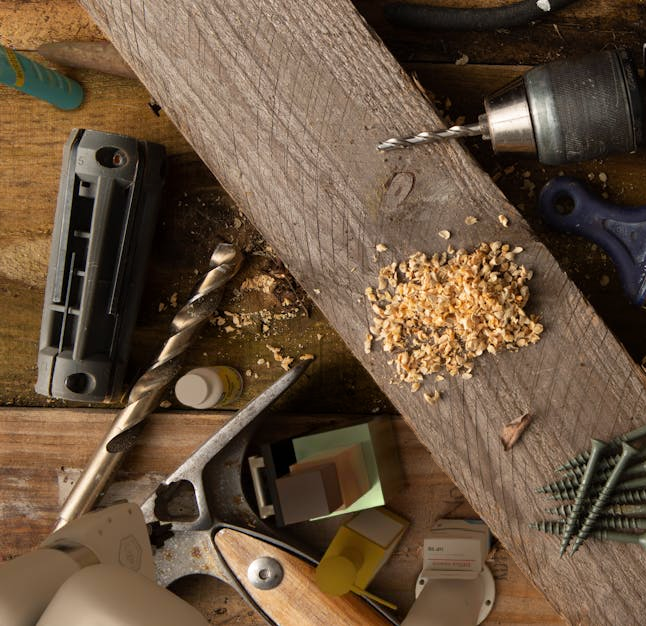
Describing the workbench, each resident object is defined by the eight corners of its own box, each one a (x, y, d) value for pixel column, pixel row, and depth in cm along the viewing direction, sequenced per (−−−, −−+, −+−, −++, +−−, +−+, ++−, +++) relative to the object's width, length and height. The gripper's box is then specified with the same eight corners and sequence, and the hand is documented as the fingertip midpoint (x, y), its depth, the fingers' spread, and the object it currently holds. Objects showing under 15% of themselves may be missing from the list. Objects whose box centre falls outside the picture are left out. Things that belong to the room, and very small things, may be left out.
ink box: (491, 519, 127) (479, 545, 112) (490, 550, 127) (478, 580, 112) (437, 518, 127) (419, 544, 112) (437, 549, 127) (418, 579, 112)
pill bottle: (240, 407, 126) (207, 415, 115) (201, 399, 126) (165, 407, 115) (248, 369, 126) (216, 373, 115) (209, 361, 126) (174, 365, 115)
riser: (371, 489, 114) (346, 509, 102) (330, 499, 114) (300, 519, 102) (360, 442, 114) (335, 456, 102) (319, 451, 114) (289, 466, 102)
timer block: (343, 504, 102) (330, 515, 96) (300, 514, 102) (284, 525, 96) (334, 461, 102) (320, 470, 96) (291, 471, 102) (274, 479, 96)
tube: (94, 106, 126) (7, 67, 107) (67, 122, 126) (-25, 86, 107) (69, 66, 126) (-22, 20, 107) (43, 82, 126) (-54, 39, 107)
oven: (337, 501, 127) (309, 521, 114) (321, 427, 127) (292, 439, 114) (405, 486, 127) (385, 504, 114) (389, 412, 127) (367, 423, 114)
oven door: (306, 507, 127) (255, 531, 115) (290, 434, 127) (238, 450, 115) (334, 501, 126) (286, 525, 114) (319, 428, 126) (269, 444, 114)
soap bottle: (417, 578, 127) (380, 637, 103) (348, 539, 127) (295, 589, 103) (439, 539, 127) (407, 588, 103) (370, 500, 127) (323, 540, 103)
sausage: (133, 51, 119) (154, 34, 124) (16, 34, 119) (41, 18, 124) (145, 89, 124) (165, 71, 128) (33, 73, 124) (56, 56, 128)
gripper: (114, 651, 75) (206, 586, 93) (81, 496, 75) (179, 462, 93) (35, 668, 75) (142, 600, 93) (2, 514, 75) (116, 476, 93)
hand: (161, 531), depth 93 cm, fingers closed
